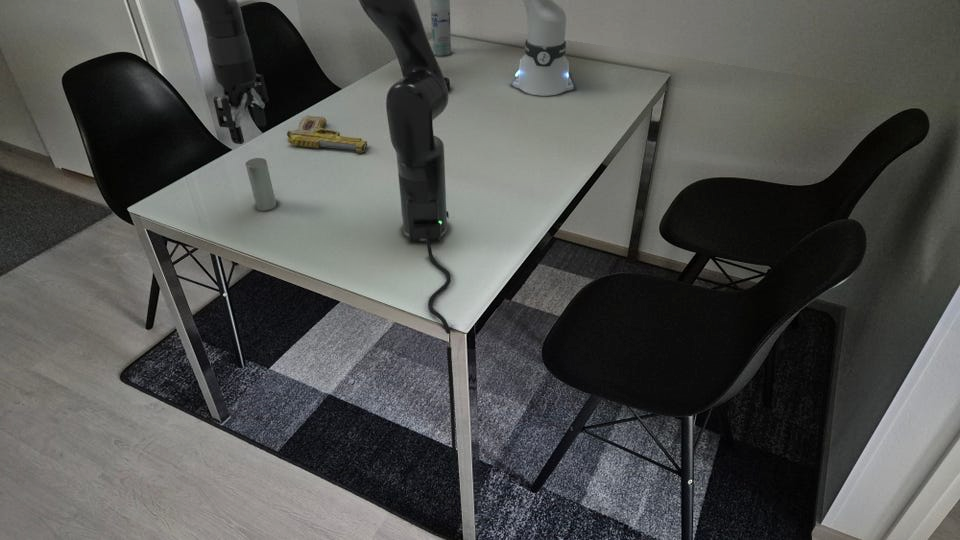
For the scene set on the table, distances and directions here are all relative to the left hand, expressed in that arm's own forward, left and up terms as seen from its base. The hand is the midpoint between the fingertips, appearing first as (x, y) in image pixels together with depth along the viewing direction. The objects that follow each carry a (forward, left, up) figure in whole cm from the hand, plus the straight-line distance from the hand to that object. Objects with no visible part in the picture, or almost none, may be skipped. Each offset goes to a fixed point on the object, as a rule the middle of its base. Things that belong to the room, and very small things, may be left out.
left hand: (250, 134), depth 130 cm
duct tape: (+65, -38, -17) cm, 77 cm away
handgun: (+33, -10, -17) cm, 38 cm away
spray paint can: (+98, -38, -17) cm, 106 cm away
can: (0, 0, -17) cm, 17 cm away
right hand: (+71, -28, +14) cm, 78 cm away
